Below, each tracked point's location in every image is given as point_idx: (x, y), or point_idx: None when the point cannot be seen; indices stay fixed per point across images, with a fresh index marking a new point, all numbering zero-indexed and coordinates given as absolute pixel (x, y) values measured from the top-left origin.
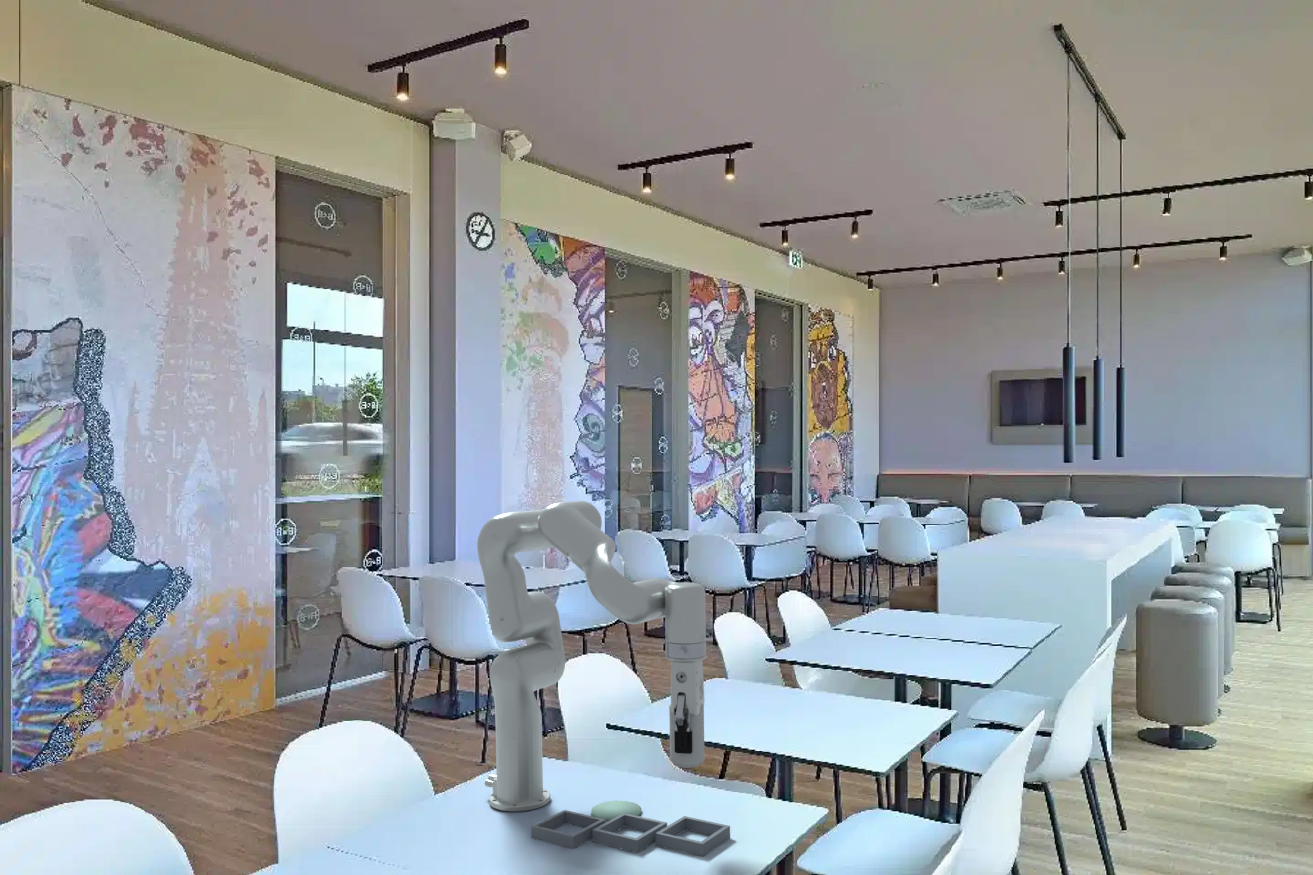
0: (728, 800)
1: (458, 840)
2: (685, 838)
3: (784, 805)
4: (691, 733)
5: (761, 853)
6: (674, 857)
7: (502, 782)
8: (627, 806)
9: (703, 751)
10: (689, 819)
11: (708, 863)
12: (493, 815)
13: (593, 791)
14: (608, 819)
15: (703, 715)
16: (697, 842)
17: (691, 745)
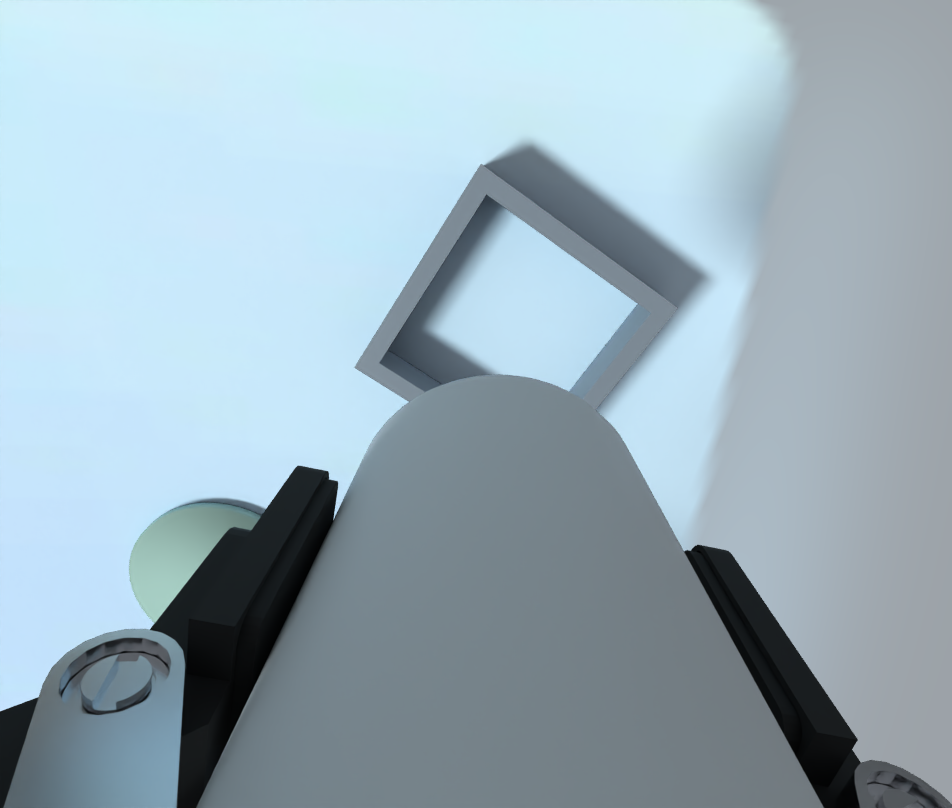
0: (14, 132)
1: None
2: (606, 373)
3: None
4: (840, 718)
5: (674, 29)
6: (651, 401)
7: None
8: (186, 552)
9: (565, 415)
10: (388, 346)
11: (731, 280)
12: None
13: (29, 647)
14: None
15: (643, 749)
16: (656, 327)
17: (757, 600)
